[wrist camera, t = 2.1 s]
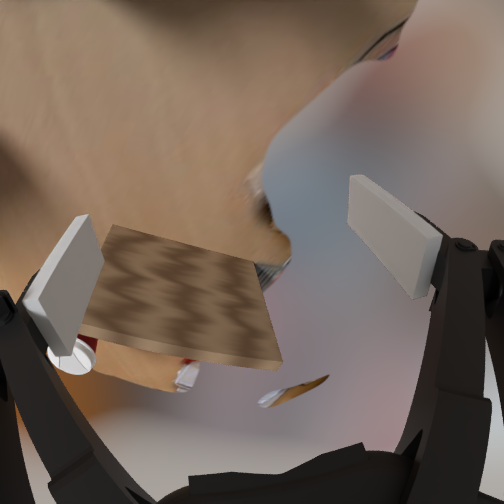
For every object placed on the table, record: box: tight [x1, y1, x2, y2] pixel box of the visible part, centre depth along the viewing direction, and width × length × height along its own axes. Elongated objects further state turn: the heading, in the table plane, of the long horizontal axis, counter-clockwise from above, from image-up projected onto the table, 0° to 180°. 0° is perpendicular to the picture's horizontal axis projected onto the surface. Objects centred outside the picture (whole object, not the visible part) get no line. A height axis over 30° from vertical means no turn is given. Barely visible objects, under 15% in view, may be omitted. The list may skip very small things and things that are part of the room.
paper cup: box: [48, 334, 98, 375], centre depth 42 cm, size 8×8×14 cm
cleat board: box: [78, 225, 283, 371], centre depth 40 cm, size 22×13×20 cm, turn 67°
